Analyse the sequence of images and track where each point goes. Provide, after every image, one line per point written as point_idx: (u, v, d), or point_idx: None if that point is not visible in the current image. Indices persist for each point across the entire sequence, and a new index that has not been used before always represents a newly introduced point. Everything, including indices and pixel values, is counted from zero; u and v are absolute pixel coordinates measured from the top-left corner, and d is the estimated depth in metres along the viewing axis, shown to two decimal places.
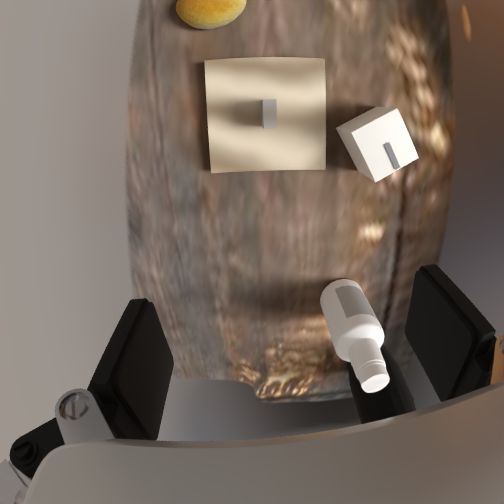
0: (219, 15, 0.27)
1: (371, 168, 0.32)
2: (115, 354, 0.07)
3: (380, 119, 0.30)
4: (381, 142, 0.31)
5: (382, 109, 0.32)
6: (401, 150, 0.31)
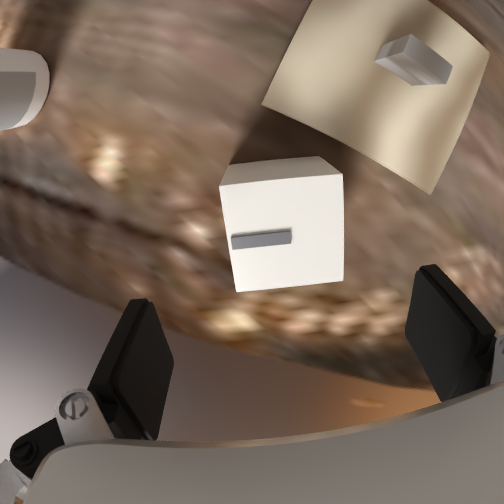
0: None
1: (252, 186, 0.16)
2: (115, 354, 0.07)
3: (339, 241, 0.17)
4: (297, 227, 0.17)
5: None
6: (264, 262, 0.18)
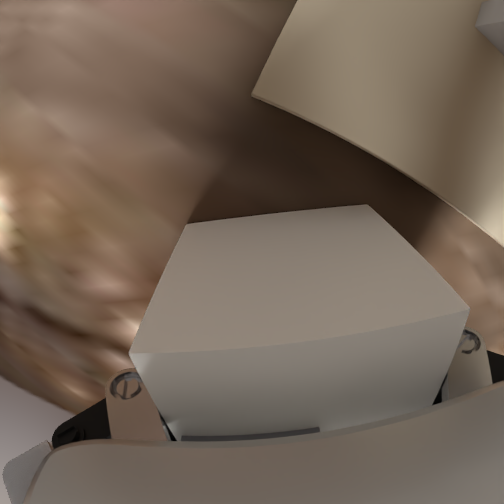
0: None
1: (224, 361, 0.05)
2: None
3: None
4: (337, 421, 0.06)
5: None
6: None
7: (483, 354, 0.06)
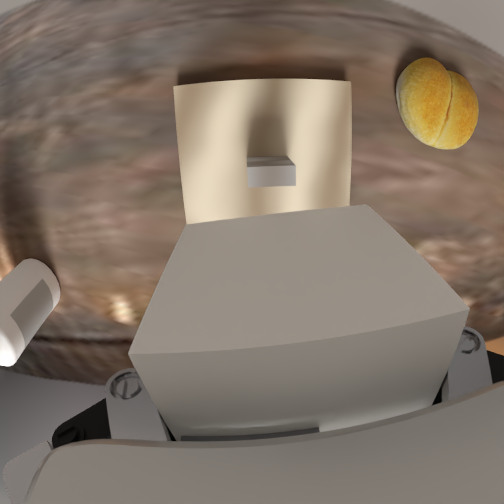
0: (418, 110, 0.21)
1: (223, 361, 0.05)
2: None
3: None
4: (336, 422, 0.06)
5: None
6: None
7: (483, 354, 0.06)
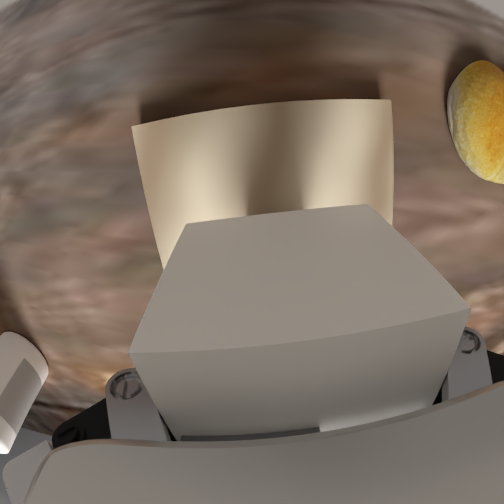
0: (481, 138, 0.14)
1: (224, 360, 0.05)
2: None
3: None
4: (337, 421, 0.06)
5: None
6: None
7: (483, 354, 0.06)
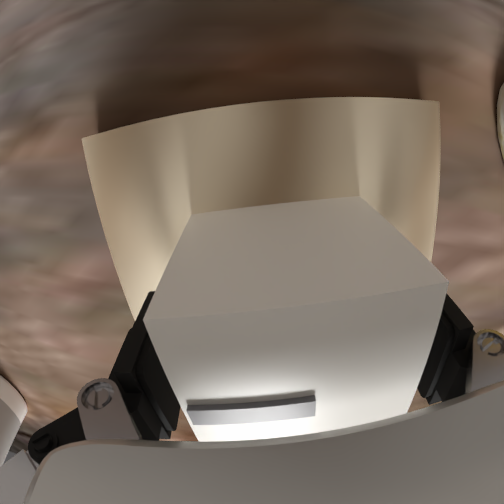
0: None
1: (228, 324, 0.06)
2: (138, 343, 0.08)
3: (406, 395, 0.07)
4: (331, 390, 0.07)
5: None
6: (258, 435, 0.08)
7: None
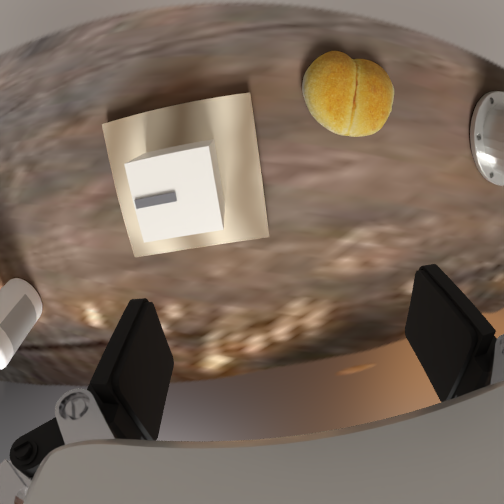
0: (322, 105, 0.24)
1: (146, 162, 0.21)
2: (115, 354, 0.07)
3: (214, 198, 0.22)
4: (179, 188, 0.22)
5: (223, 210, 0.26)
6: (160, 217, 0.23)
7: None
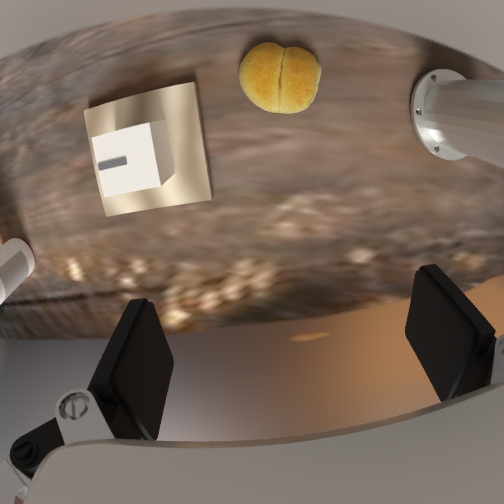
0: (251, 87, 0.29)
1: (106, 135, 0.26)
2: (115, 354, 0.07)
3: (153, 161, 0.28)
4: (129, 155, 0.27)
5: (167, 174, 0.31)
6: (115, 177, 0.28)
7: None
